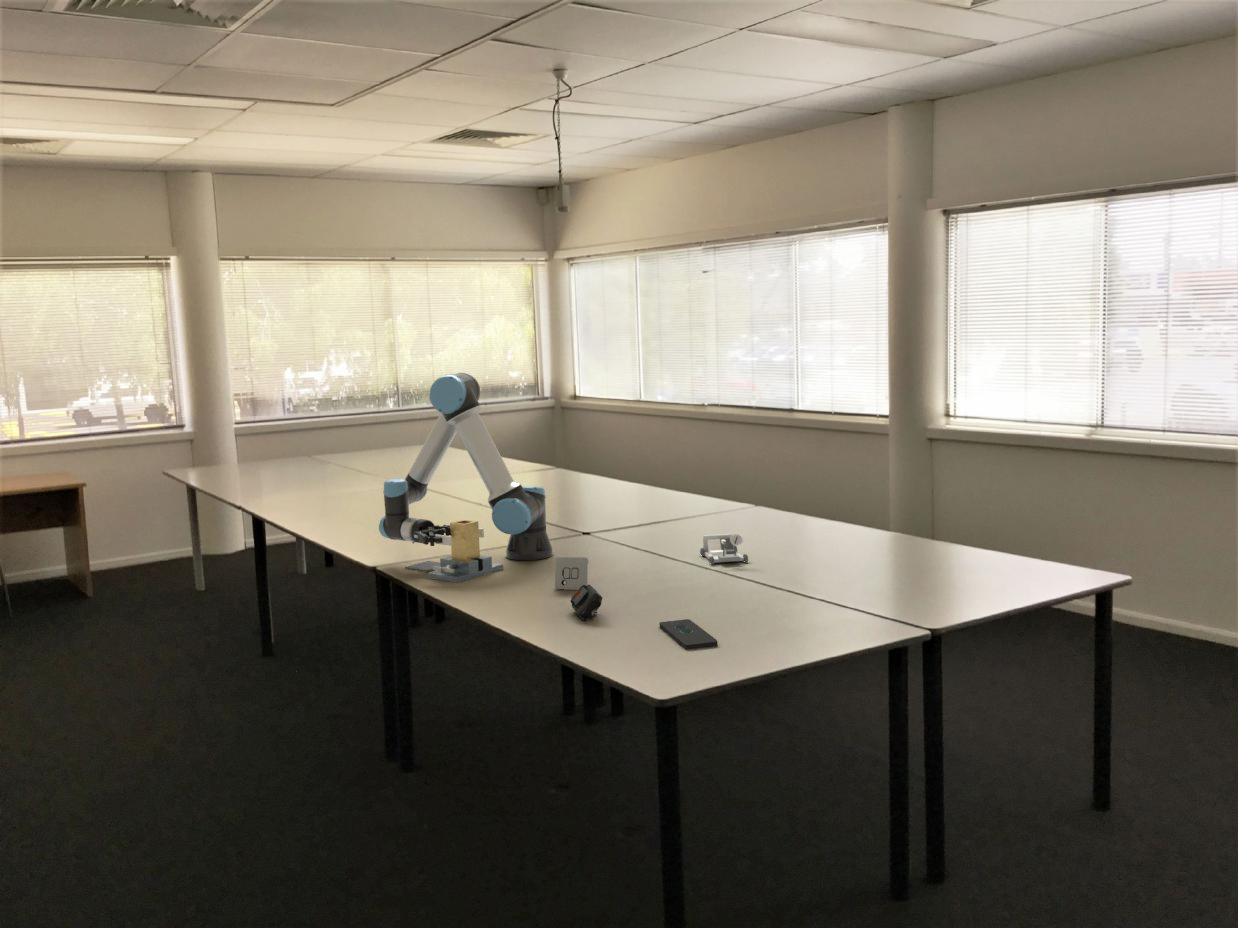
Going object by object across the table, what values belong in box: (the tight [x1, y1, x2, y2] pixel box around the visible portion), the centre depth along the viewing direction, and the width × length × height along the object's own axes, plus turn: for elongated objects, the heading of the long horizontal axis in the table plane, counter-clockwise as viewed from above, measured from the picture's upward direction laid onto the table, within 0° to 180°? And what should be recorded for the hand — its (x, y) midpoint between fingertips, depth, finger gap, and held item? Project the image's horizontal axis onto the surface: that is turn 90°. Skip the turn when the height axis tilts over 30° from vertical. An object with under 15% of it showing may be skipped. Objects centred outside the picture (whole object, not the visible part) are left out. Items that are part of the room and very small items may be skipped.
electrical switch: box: [554, 556, 589, 591], centre depth 296 cm, size 9×5×9 cm, turn 78°
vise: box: [428, 554, 504, 584], centre depth 317 cm, size 20×12×14 cm, turn 144°
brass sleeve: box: [449, 519, 481, 560], centre depth 317 cm, size 6×6×11 cm
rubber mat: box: [404, 560, 441, 573], centre depth 328 cm, size 10×10×1 cm
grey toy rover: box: [699, 533, 749, 566], centre depth 325 cm, size 18×10×12 cm
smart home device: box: [659, 618, 718, 651], centre depth 247 cm, size 8×2×20 cm
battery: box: [569, 584, 603, 621], centre depth 267 cm, size 12×8×7 cm
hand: (467, 536), depth 315 cm, fingers open, 13 cm apart
